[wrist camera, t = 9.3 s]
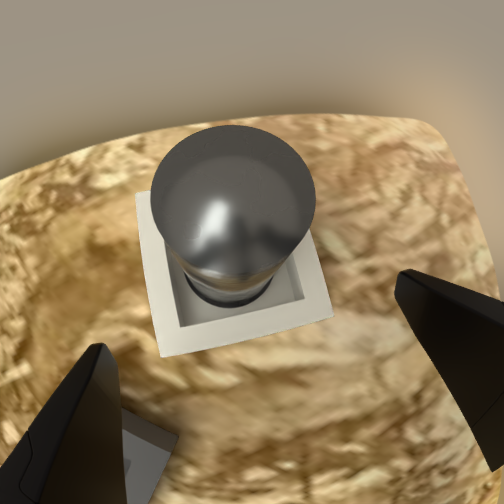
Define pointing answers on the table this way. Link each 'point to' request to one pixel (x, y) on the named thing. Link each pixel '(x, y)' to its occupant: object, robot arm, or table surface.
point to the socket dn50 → (223, 319)
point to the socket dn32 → (144, 456)
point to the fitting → (232, 210)
